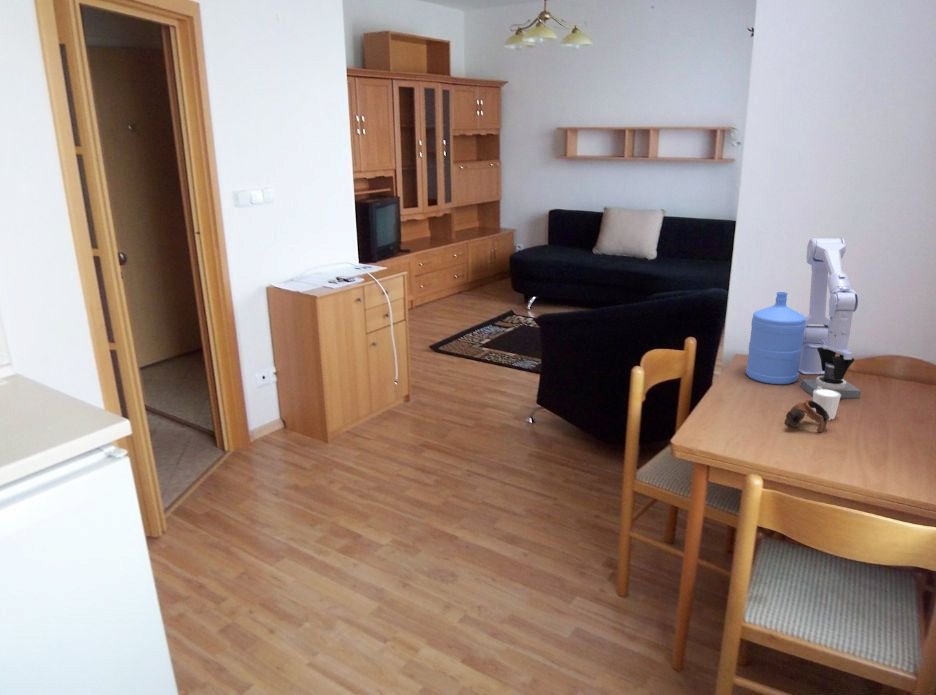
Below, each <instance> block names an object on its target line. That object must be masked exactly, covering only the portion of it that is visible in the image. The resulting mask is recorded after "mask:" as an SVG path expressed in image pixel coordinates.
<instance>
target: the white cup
mask: <svg viewBox="0 0 936 695" xmlns="http://www.w3.org/2000/svg"><path fill="white" fill-rule="evenodd" d="M840 397H841V394H840V393H839V392H837V391H833V390H829V389H816V390H814V391H813V396H812V401H814V402H816V403H817V404H819V405H820V406H821V407H823V408H824V409H825V411H826V412H827V413H828V415H829V419H828V420H827V421H831V419H832V420H834V419H835V418H836V415H837V412H838V408H839V403H840V400H841V399H840ZM812 409H813V410H814V411H815V412H816V408H812Z"/></svg>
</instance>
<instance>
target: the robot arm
mask: <svg viewBox="0 0 936 695" xmlns="http://www.w3.org/2000/svg"><path fill="white" fill-rule="evenodd" d="M846 248H847V244H846V240H845V239H844V238H843V237H840V238H837V237H835V238H834V237H833V238H831V237H830V238H827V237H825V238H823V237H822V238H821V237H819V238H818V237H817V238H816V237H811V238H810V239H809V240H808V243H807V247H806V264H808V265H810V267H811V279H810V280H811V281H810V282H811V283H810V293H809V294H810V296H809V312H808V315H807V316H805V318H806V321H805V323H806V325H805V331H804V336H803V342H802V352H801V357H800V364H799V373H801V374H802V375H824V372H825V366H826V361H833V362H834V378H835V379H836V380H842V379H844V377H845V375H846V373H847V371H848V369H849V367H850V366H851V365H852V364H853V363H854V362H855V358H854V357H853V352H852V351H850V348H849V347H848V345H849V339H850V335H851V334H850V333H851V326H852V321H853V315H854V312H856V311H857V309H858V305H859V296H858V293H857V292H856V291H855V290H854V289H853V288H852V285H851V281H850V279H849V278H850V277H849V275H848V274H847V273H845V272H844V271H843V263H842V259H843V258H844V256H845V253H846ZM828 291H829V294H830V297H829V300H828V308H829V309H828V316H829V318H828V317H826V312H827V310H826V309H827V297H828V296H827V295H828V294H827V293H828ZM821 325H822V326H821ZM837 355H839V356H837Z"/></svg>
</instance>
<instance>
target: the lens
mask: <svg viewBox="0 0 936 695" xmlns="http://www.w3.org/2000/svg"><path fill="white" fill-rule="evenodd" d="M823 376H824V379H823V382H826V383H831V384H841V380H836V379H835V378H834V362H833V361H826V366H825V372H824V374H823Z"/></svg>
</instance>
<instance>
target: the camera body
mask: <svg viewBox="0 0 936 695" xmlns="http://www.w3.org/2000/svg"><path fill="white" fill-rule="evenodd" d="M823 379H824V375H819V376H817V377H816V378H814V379H813V378H812V379H800V380H801V381H800V388H801V389H802V390H804V391H805V392H806V393H808V394H809V395H810V396H811V397H813V391H814V390H816V389H829V390H833V391H837V392H839V393H840V394H841V397H840V400H841V399H843V400H845V399H860V397H861V392H862V390H860V389H859V388H857V387H856V386H855V385H854V384H852V383H850V382H849V381H847V380H845V378H843V379H842V380H841V384H831V383H826V382H823Z"/></svg>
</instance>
